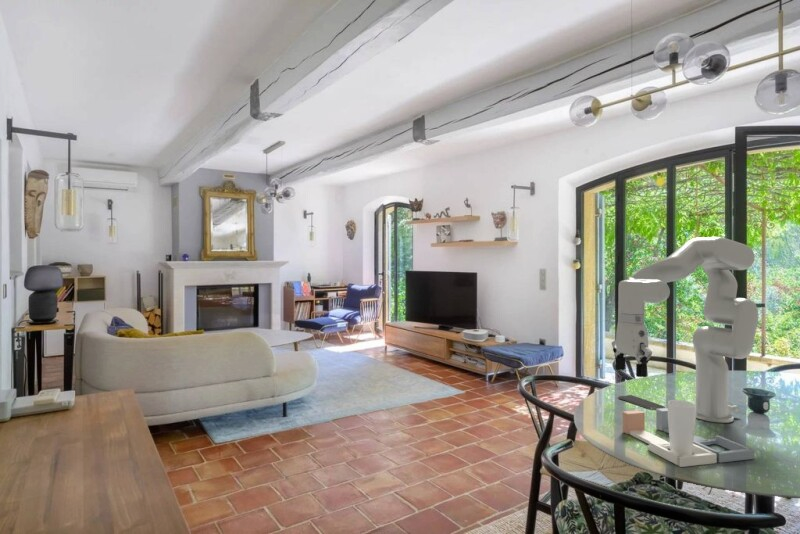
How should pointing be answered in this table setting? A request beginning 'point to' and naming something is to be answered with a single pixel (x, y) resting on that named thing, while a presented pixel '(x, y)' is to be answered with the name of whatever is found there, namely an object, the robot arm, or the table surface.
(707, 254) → the robot arm
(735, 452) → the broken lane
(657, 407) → the smartphone
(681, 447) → the drinking glass
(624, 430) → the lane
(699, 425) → the table surface
